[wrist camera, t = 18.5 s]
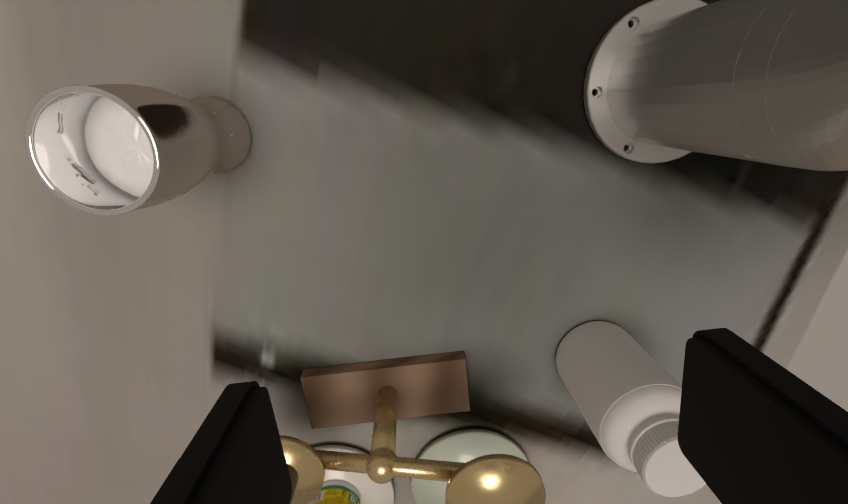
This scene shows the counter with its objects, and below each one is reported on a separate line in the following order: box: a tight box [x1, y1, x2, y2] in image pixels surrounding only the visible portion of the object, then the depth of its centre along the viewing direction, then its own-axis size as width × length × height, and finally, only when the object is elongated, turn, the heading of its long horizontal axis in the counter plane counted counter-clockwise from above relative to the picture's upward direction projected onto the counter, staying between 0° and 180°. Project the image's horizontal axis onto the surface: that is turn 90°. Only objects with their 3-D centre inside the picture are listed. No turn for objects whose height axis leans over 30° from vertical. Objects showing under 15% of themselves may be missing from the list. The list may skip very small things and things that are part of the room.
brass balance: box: [280, 351, 546, 504], centre depth 38 cm, size 23×7×15 cm, turn 96°
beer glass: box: [25, 84, 251, 216], centre depth 30 cm, size 7×7×15 cm
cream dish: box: [314, 445, 394, 504], centre depth 48 cm, size 13×13×1 cm
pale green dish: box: [411, 429, 528, 504], centre depth 48 cm, size 13×13×1 cm
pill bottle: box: [556, 321, 706, 497], centre depth 37 cm, size 8×8×15 cm
